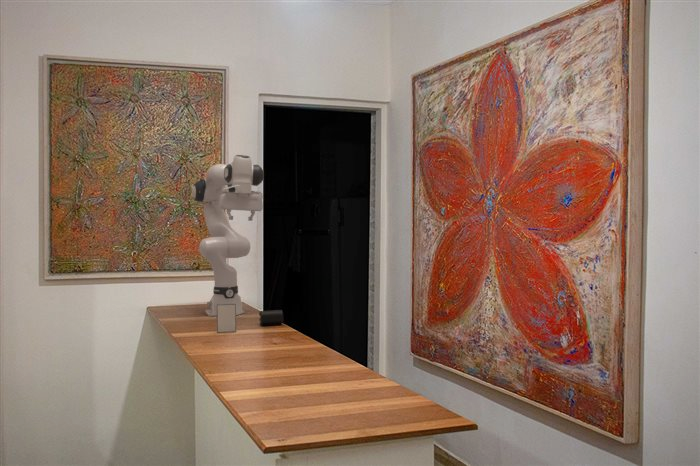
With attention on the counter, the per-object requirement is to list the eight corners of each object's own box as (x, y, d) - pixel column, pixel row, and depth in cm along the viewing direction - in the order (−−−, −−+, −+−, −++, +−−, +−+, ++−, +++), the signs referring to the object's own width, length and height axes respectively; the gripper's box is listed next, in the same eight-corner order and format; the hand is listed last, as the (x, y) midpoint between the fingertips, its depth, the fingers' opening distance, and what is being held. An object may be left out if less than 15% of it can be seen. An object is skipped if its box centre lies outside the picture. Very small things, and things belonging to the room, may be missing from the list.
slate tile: (217, 332, 315) (216, 304, 315) (236, 331, 317) (235, 303, 316) (217, 332, 313) (216, 304, 313) (236, 332, 315) (235, 304, 314)
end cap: (261, 327, 327) (261, 312, 327) (258, 324, 334) (258, 310, 333) (283, 325, 330) (283, 310, 330) (280, 323, 337) (279, 308, 337)
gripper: (260, 191, 344) (259, 221, 344) (218, 189, 334) (217, 219, 334) (265, 191, 338) (264, 221, 338) (223, 188, 328) (222, 219, 328)
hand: (240, 220), depth 336 cm, fingers open, 8 cm apart
